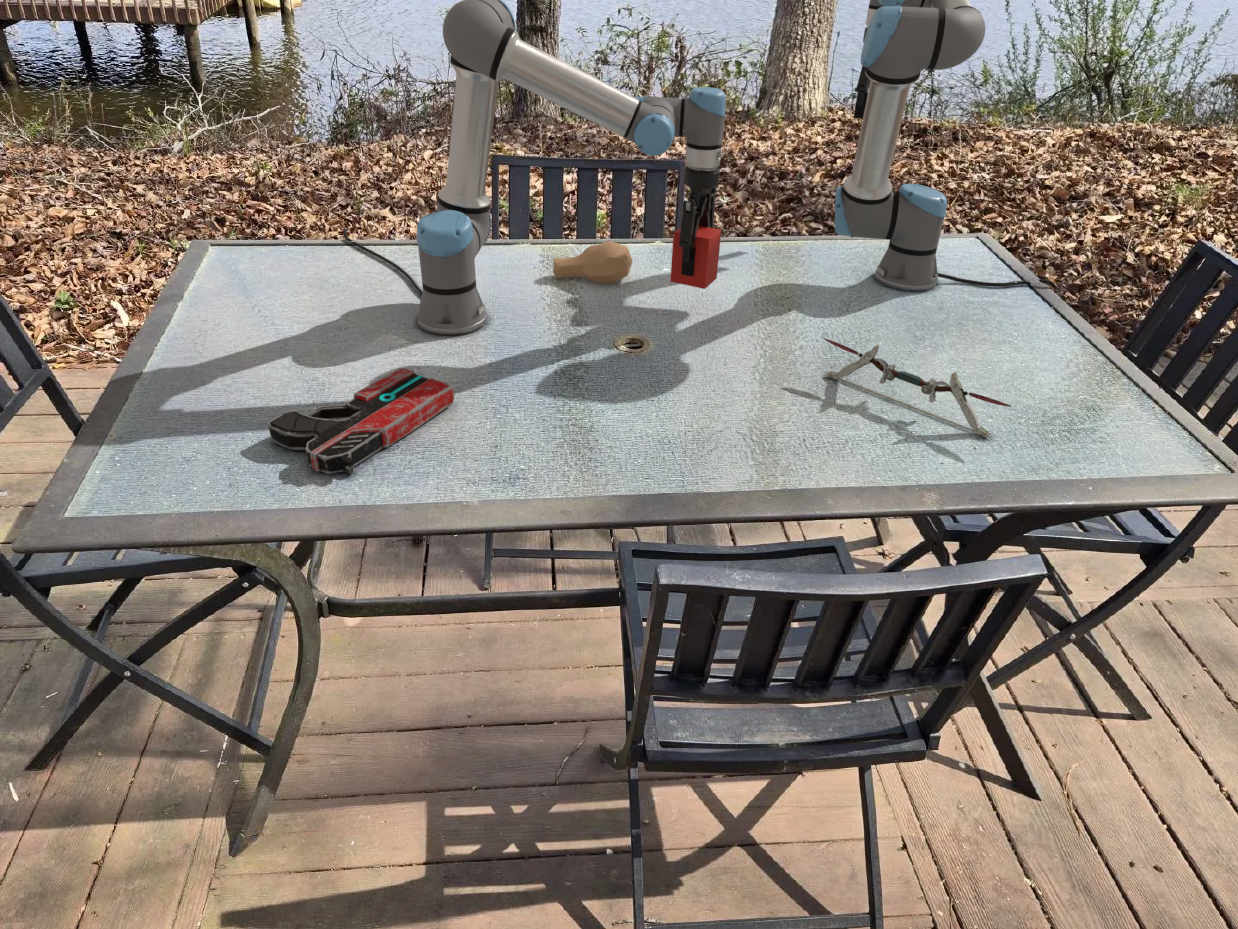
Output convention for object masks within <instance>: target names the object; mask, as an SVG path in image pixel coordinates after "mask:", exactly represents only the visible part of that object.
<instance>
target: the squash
mask: <svg viewBox="0 0 1238 929" xmlns="http://www.w3.org/2000/svg"><path fill="white" fill-rule="evenodd" d="M632 264H633V258H632V255H631V254H630V249H629V247H628V246H627V245H624V244H622V243H621V244H620V243H617V242H614V241H610V240H608V241H605V242H602V243H599V244H598V243H597V244H593V245H590V246H588V247H587V248H585V249H584V250H583V252H581V253H580V254H578V255H576V256H571V257H570V256H569V257H555V258H553V268H552V273H553V275H554V276H555V279H562V278H570V277H578V278H579V277H580V278H586V279H588V280H590V281H591V282H595V283H598V284H615V283H616V282H618V281H620V280H622V279H625V278H626V277H628V276H629V274H630V272H631V268H632Z"/></svg>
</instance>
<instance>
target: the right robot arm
mask: <svg viewBox="0 0 1238 929" xmlns="http://www.w3.org/2000/svg"><path fill="white" fill-rule="evenodd" d="M865 25H866V27H865V28H864V32H863V38H862V42H863V45H862V48H861V53H860V65H861V70H860V72H859V77H858V81H857V85H856V87H854V92H855V93H857V95H856V100H855V107H854V112H853V119H859V120H862V121H861V127H860V131H859V136H858V141H857V146H856V151H855V156H854V162H853V166H852V171H851V174H850V175H848V176H847V177H846V178H845V179H844V181H843V184H842V185H840V186H837V187H836V188H835V202H834V231H835V233H836V234H837V235H839V236H841V237H842V236H843V237H849V238H851V239H853V238H863V239H876V240H889V242H888V247H887V249H886V251H885V253H884V254H883V256H882V258H881V260H880V262H879V264H878V265H877V266H876V269H875V274H874V278H875V280H876V281H877V282H878V283H880V284H881V285H883V286H885V287H887V288H891V289H894V290H898V291H904V292H925V291H930V290H932V289H934V288H935V287H937V285H938V279H939V278H941V279H947V280H950V281H955V282H958V283H964V284H968V285H974V286H975V285H976V286H983V287H994V288H995V287H997V288H999V287H1000V288H1001V287H1002V288H1004V287H1011V286H1023V285H1032V284H1031V283H1030V282H1024V281H1025V280H1015V281H1008V282H989V281H979V280H972V279H968V278H967V279H966V278H962V277H957V276H954V275H949V274H945V273H940V272H939V271H938V262H937V252H938V251H937V250H938V246H939V242H940V239H941V235H942V229H943V225H944V221H945V219H946V216H947V214H946V212H947V207H948V199H947V196H946V195H944V193H942V192H941V191H939V190H937V189H935V188H932V187H929V186H926V185H922V184H917V183H904V184H901V185H900V187H899V188H898V190H893V184H892V182H891V181H890V180H889V178H890V172H891V168H892V165H893V160H894V156H895V151H896V147H897V143H898V139H899V135H900V130H901V127H902V126H901V125H902V121H903V117H904V114H905V108H906V105H907V102H908V101H907V100H908V97H909V91H910V87H911V86H912V85H913V84H915V83H917V82H918V81H919V79H920V77H921V73H922V70H931V71H941V70H948V69H952V68H954V67H956V66H959V65H961V64H963V63H965V62H966V61H967V60H969V59H970V58H971V57H972V56H973V55H974V54H976V53H977V52H978V50H979V48H980V47H981V45H982V43H983V42H984V39H985V36H986V22H985V19H984V17H983V15H982V13H981V11H979V10H978V8H976V7H974V6H972V5H971V3H970V0H869V3H868V8H867V12H866V19H865ZM1038 280H1039V281H1040V282H1042V283H1041V284H1046V285H1048V286H1050V287H1051V288H1053V289H1057V288H1058V286H1057V284H1056V283H1055V282H1053V281H1052V280H1050V279H1045V278H1039V279H1038ZM1015 282H1017V283H1015Z"/></svg>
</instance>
